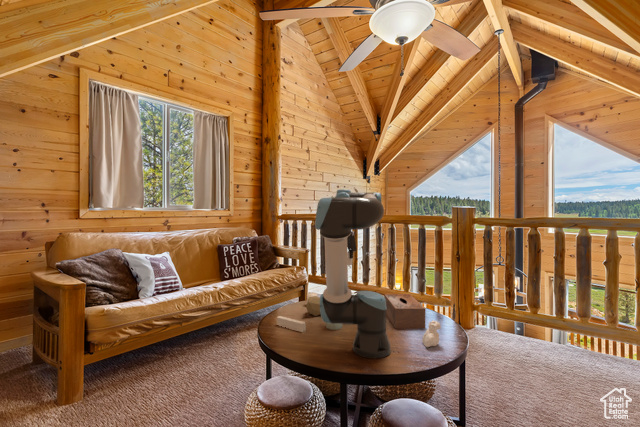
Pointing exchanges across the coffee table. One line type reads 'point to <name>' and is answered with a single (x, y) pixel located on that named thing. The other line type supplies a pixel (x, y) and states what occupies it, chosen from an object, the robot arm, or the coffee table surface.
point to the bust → (431, 334)
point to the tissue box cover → (404, 311)
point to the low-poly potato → (313, 305)
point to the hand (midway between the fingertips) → (343, 263)
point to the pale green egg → (333, 326)
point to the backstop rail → (291, 324)
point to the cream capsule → (311, 295)
